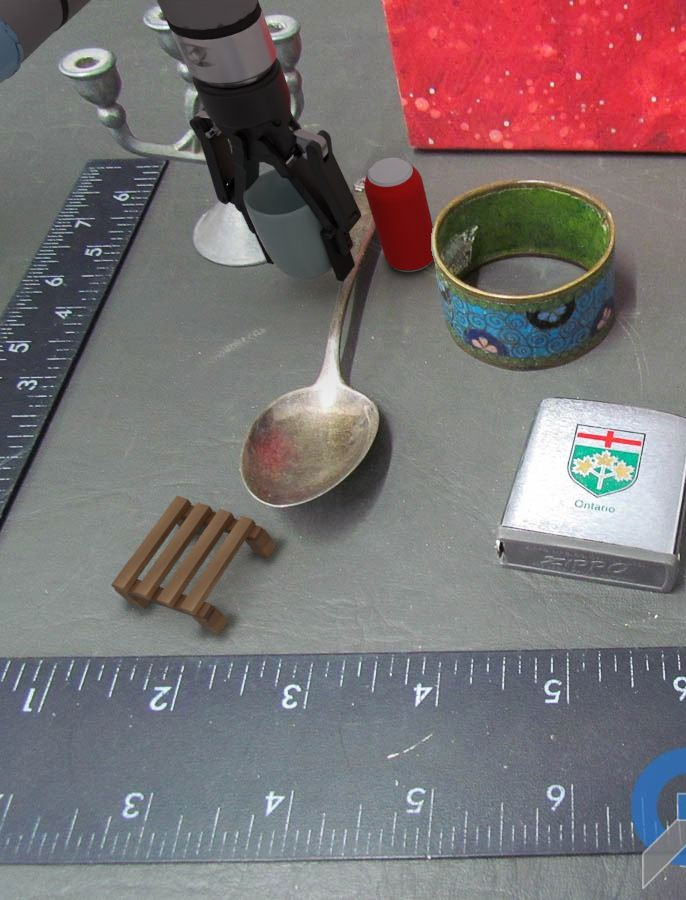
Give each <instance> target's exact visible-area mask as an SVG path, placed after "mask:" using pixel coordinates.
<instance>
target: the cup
mask: <svg viewBox="0 0 686 900" xmlns="http://www.w3.org/2000/svg"><path fill="white" fill-rule="evenodd" d="M243 200H244V203H245V206H246V209H247V212H248V214H249V216H250V219H251V221H252V223H253V226H254V228H255V230H256V232H257V234H258V236H259V239H260V241H261V243H262V245H263V246H264V248H265V250H266V252H267V253H268V255H269V256H270V258H271V259H272V261H273V262H274V265H275V267H277V268H278V269H279V270H280V271H281V272H282V273H283V274H284V275H286V276H288V277H289V278H291V279H295V280H298V281H313V280H316V279H319V278H322V277H323V276H325V275H327V274H328V273H329V272H331V271H332V270H333V268H332V265H331V262H330V259H329V257H328V254H327V251H326V248H325V246H324V243H323V240H322V237H321V235H320V232H321V231H322V230H323V228H324V227H323V225H322V224H321V223H320V221H319V220H318V219H317V217H316V216H315V215H314V213H313V212H312V211H311V209H310V208H309V206H308V205H307V204H306V203H305V201H304V200H303V199H302V197H301V196H300V195H299V193H298V192H297V191H296V189H295V188H294V187H293V185H292V184H291V183H290V181H289V180H288V179H287V178H282V177H281V176H280V175H279V173H278V172H277V171H276V169H275V168H273V169H272V170H269V171H266V172H264V173H262V174H259V177H258V178H257V180H256V181H255V182H254V184H253V185H252V186H251V187H250V188H249V189H248V190H247V191H244V195H243Z"/></svg>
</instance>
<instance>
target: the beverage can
mask: <svg viewBox="0 0 686 900" xmlns="http://www.w3.org/2000/svg"><path fill="white" fill-rule="evenodd" d="M363 190H364V193H365V196H366V197H365V198H366V200H367V203H368V207H369V210H370V213H371V216H372V220H373V223H374V227H375V229H376V233H377V236H378V239H379V243H380V245H381V249H382V253H383V255H384V258H385V260H386V262H387V264H388V265H389V266H391V268H393V269H394V270H397V271H400V272H406V273H412V272H417V271H421V270H423V269H425V268H427V267H428V266H430V265H431V264H432V263H433V262H434V260H433V256H432V251H431V233H432V228H434V225H433V219H432V216H431V212H430V207H429V203H428V199H427V195H426V190H425V186H424V181H423V177H422V175H421V173H420V172H419V170H418V169H417V168H416V167H415V166H414V165H413V164H412V163H411V162H409V161H408V160H406V159H403V158H401V157H387V158H383V159H381V160H377V161H376V162H375V163H373V164H372V165H371V166H370V167H369V168H368V170H367V173H366V175H365V179H364V184H363Z"/></svg>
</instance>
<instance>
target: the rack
mask: <svg viewBox="0 0 686 900" xmlns="http://www.w3.org/2000/svg"><path fill="white" fill-rule="evenodd" d="M176 526H178V527H179V528H178V530H177V531H176V532H175V533H174V535H173V536H172V538H171V539H170V540H169V542H168V543H167V545H166V546H165V548H163V551H162V552H161V553H160V555H159V556H158V557H157V558H156V559H155V562H154V563H153V565H152V566H151V567H150V568H149V570H148V571H147V573H146V574H145V576H143V578H142V579H139V577H141V574H142V573H143V572H144V570H145V569H146V568H147V567H148V565H149V563H150V562H151V561H152V559H153V558H154V556H155V555H156V554H157V553H158V551H159V549H160V548H161V547H162V546H163V544H164V542H165V541H166V540H167V538H168V537H169V536H170V535H171V533H172V531H173V530H174V529H175V527H176ZM202 527H206V528H205V529H204V530H203V532H202V533H201V535H200V536H199V537H198V538H197V541H196V542H195V543H194V545H193V546H192V548H191V549H190V551H189V552H188V553H187V555H186V556H185V558H184V559H183V560H182V562H181V564H180V565H179V566H178V567H177V569H176V571H175V572H174V574H173V575H172V577H171V578H170V579H169V581H168V582H167V584H166V585H165V586H164V587H162V586H161V585H162V583H163V582H164V581H165V580H166V578H167V576H168V575H169V574H170V572H171V570H173V568H174V566H175V565H176V564H177V562H178V561H179V560H180V558H181V556H182V555H183V553H184V552H185V550H186V549H187V548H188V546H189V545H190V544H191V542H192V540H193V539H194V538H195V537H196V535H197V534H198V533H199V531H200V530H201V529H202ZM224 534H227V536H226V538H225V540H224V541H223V543H222V544H221V546H220V547H219V548H218V550H217V551H216V553H215V554H214V556H213V557H212V559H211V560H210V562H209V563H208V564H207V566H206V567H205V569H204V571H202V574H201V575H200V577H199V578H198V580H197V581H196V582H195V584H194V585H193V587H192V588H191V590H190V591H189V593H188V595H186V594H184V592H185V590H186V589H187V587H188V586H189V584H190V583H191V582H192V580H193V579H194V577H195V576H196V574H197V573H198V571H199V570H200V569H201V567H202V566H203V564H204V563H205V561H206V560H207V558H208V556H209V555H210V554H211V552H212V551H213V549H214V547H215V546H216V545H217V544H218V542H219V540H220V539H221V537H222V536H223V535H224ZM244 543H246V544H247V546H248V547H249V549H251V551H252V552H253V554H254V555H256V556H260V557H263V558H266V559H269V558H270V557H271V555H272V553H273V552H274V550H275V549H276V547H277V544H276V543H275V541H274V540H273V539H272V537H271V535H270V534H269V533H268V531H267V530H266V528H263V526H260V525H257V523H256V521H255V520H254V519H253V518H250V517H246V516H243V515H241V516H240V517H239V519H238V518H235V515H234V514H233V513H232V512H231V511H228V510H224V509H222V508H219V509H218V511H217V512H215V511H213V508H212V507H211V506H210V505H208V504H206V503H201V502H197V503H196V504H195V505H193V504H192V502H191V501H190V500H189V498H186V497H183V496H179V495H176V496H175V497H174V499H173V500H172V501H171V502H170V504H169V505H168V507H167V508H166V509H165V511H164V512H163V514H162V515H161V516H160V518H159V519H158V520H157V522H155V524H154V526H153V527H152V528H151V530H150V531H149V532H148V534H147V535H146V536H145V538H144V539H143V541H142V542H141V543H140V545H139V546H138V547H137V548H136V550H135V551H134V553H133V554H132V555H131V557H130V558H129V560H128V561H127V562H126V564H125V565H124V566H123V567H122V569H121V570H120V572H119V573H118V574H117V576H116V577H115V578H114V580H113V581H112V582H111V585H110V586H111V587H112V588H114V591H115V592H116V593H117V594H118V595H119V596H120V597H122V598H123V599H124V600H125V601H126V602H128V603H129V604H130V605H132V606H135V607H138V608H140V609H142V610H143V609H146V607H147V606H148V605H149V603H151V604H152V603H153V604H156V605H158V606H161V607H163V608H167V609H170V610H173V611H176V612H178V613H181V614H184V615H187V616H190V617H192V618H193V619H194V620H195V622H197V623H198V624H199V625H200V626H201V628H203V629H204V630H205V631H207V632H209V633H212V634H216V635H217V636H220V635H221V634H222V632H223V631H224V629H225V627H226V626H227V624H228V623H229V621H230V620H229V619H228V618H227V617H226V616H225V615H224V613H222V611H220V610H219V609H218V607H217V606H216V605H214V604H212V603H210V602H207V601H206V600H207V599H208V597H209V596H210V594H211V593H212V591H213V590H214V589H215V587H216V585H217V584H218V582H219V581H220V579H221V578H222V576H223V575H224V573H225V572H226V570H227V569H228V567H229V566H230V564H231V562H233V560H234V559H235V557H236V555H237V553H238V552H239V551H240V549H241V547H242V546H243V545H244Z"/></svg>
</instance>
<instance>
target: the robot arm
mask: <svg viewBox="0 0 686 900" xmlns="http://www.w3.org/2000/svg"><path fill="white" fill-rule="evenodd" d="M91 1H92V0H0V84H2V83H3V82H5V81H6V80H8V79H10V78H11V77H13V76H15V74H16V73H18V72H19V70H20V69H21V66H22V64H23V63H24V62H25V61H26V60H27V59H28V58H29V57H30V56H31V55H32V54H33V53H34V52H35V51H36V50H38V48H39V47H40V46H41V45H43V43H45V41H47V40H48V39H49V38H50V37H51V36H52V35H53V34H54V33H55V32H57V31H59V30H60V29H61V28H63V26H64V25H66V24H67V23H68V22H69V21H70V20H71V19H72V18H74V17H75V16H76V15H77V14H78V13H79V12H80V11H81V10H82V9H83V8H85V7H86V6H87V5H88V4H89V3H90V2H91ZM259 1H260V0H156V2H157V4H158V7H159V8H160V11H161V14H162V15H163V18H164V19H165V21H166V23H167V26H168V28H169V30H170V32H171V34H172V36H173V39H174V41H175V43H176V45H177V48H178V51H179V53H180V55H181V57H182V59H183V61H184V64H185V66H186V69H187V71H188V72H189V74H190V75H191V76H192V83H193V85H194V88H195V90H196V93H197V95H198V97H199V100H200V102H201V104H202V106H203V108H201V109H200V110H199V111H198V112H197V113H196V114H195V115H194V116H193V117H192V118H191V119H190V120H189V122H188V123H189V125H190V128H191V129H192V131H193V133H194V134H195V136H196V137H197V139H198V140H199V143H200V146H201V150H202V153H203V155H204V158H205V159H204V160H205V162H206V165H207V169H208V172H209V175H210V178H211V181H212V184H213V188H214V192H215V194H216V197H217V200H218V201H219V202H220V203H221V204H223V205H228V204H232V205H233V206H234V207H235V209H236V211H237V212H239V213H241V214H242V217H243V219H244V221H245V223H246V226H247V228H248V230H249V231H250V233H251V234H253V235H254V236H255V238H256V240H257V243H258V244H259V247H260V249H261V252H262V254H263V256H264V259H265V261H266V263H267V264H269V265H275V264H274V262H273V261H272V259H271V258H270V256H269V255H268V253H267V252H266V250H265V248H264V246H263V245H262V243H261V241H260V239H259V236H258V234H257V232H256V230H255V228H254V226H253V223H252V221H251V219H250V216H249V214H248V212H247V209H246V206H245V203H244V200H243V195H244V191H247V190H248V189H249V188H250V187H251V186H252V185H253V184H254V182H255V181H256V180H257V178H258V177H259V176H260V163H263V164H267V165H269V166H271V167H273V169H276V171H277V172H278V173H279V175H280V176H281V177H282V178H287V179H288V180H289V181H290V183H291V184H292V185H293V187H294V188H295V189H296V191H297V192H298V193H299V195H300V196H301V197H302V199H303V200H304V201H305V203H306V204H307V205H308V206H309V208H310V209H311V211H312V212H313V213H314V215H315V216H316V217H317V219H318V220H319V221H320V223H321V224H322V225H323V227H324V228H323V230H322V231H321V232H320V235H321V237H322V240H323V243H324V246H325V248H326V251H327V254H328V257H329V259H330V262H331V265H332V268H333V269H332V270H333V273H334V276H335V279H336V281H337V282H342V283H344V281H345V280H346V279H347V277H348V276H349V275H350V273H351V272H352V271H353V270H354V268H355V266H356V264H355V259H354V257H353V255H352V252H351V250H352V249H353V247H354V243H353V240H352V237H351V234H350V232H351V231H352V229H353V228H354V227H355V225H356V224H357V223H358V222H359V220H360V219H361V218H362V211H361V210H360V208H359V206H358V203H357V201H356V199H355V198H354V196H353V193H352V191H351V189H350V187H349V185H348V182H347V180H346V178H345V176H344V174H343V172H342V170H341V167H340V166H339V163H338V161H337V159H336V156H335V154H334V152H333V151H334V150H333V144H332V138H331V134H330V133H329V132H327V131H326V130H323V129H321V130H319V131H318V132H317V133H312V132H310V131H307V130H304V129H302V126H301V124H300V123H299V122H298V121H297V119H296V118H295V116H294V115H293V113H292V96H291V92H290V88H289V85H288V82H287V79H286V76H285V73H284V71H283V67H282V64H281V62H280V60H279V59H278V57H277V48H276V45H275V43H274V40H273V36H272V34H271V31H270V28H269V25H268V22H267V20H266V17H265V14H264V11H263V9H262V7H261V4H260V2H259Z"/></svg>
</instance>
